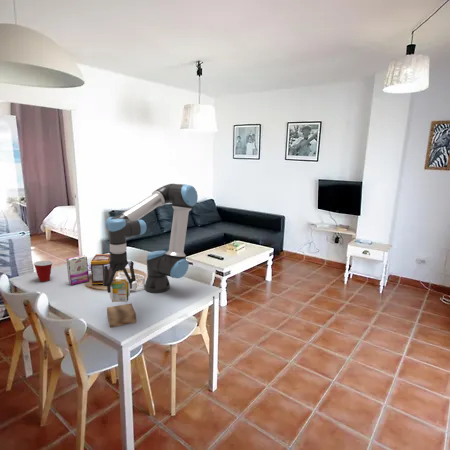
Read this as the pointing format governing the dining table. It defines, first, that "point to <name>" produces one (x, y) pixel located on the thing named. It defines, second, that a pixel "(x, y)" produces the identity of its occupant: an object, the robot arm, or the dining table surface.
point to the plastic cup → (43, 270)
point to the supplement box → (99, 268)
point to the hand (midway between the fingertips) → (120, 296)
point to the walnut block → (121, 315)
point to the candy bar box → (77, 270)
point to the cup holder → (134, 283)
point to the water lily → (89, 267)
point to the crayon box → (120, 290)
